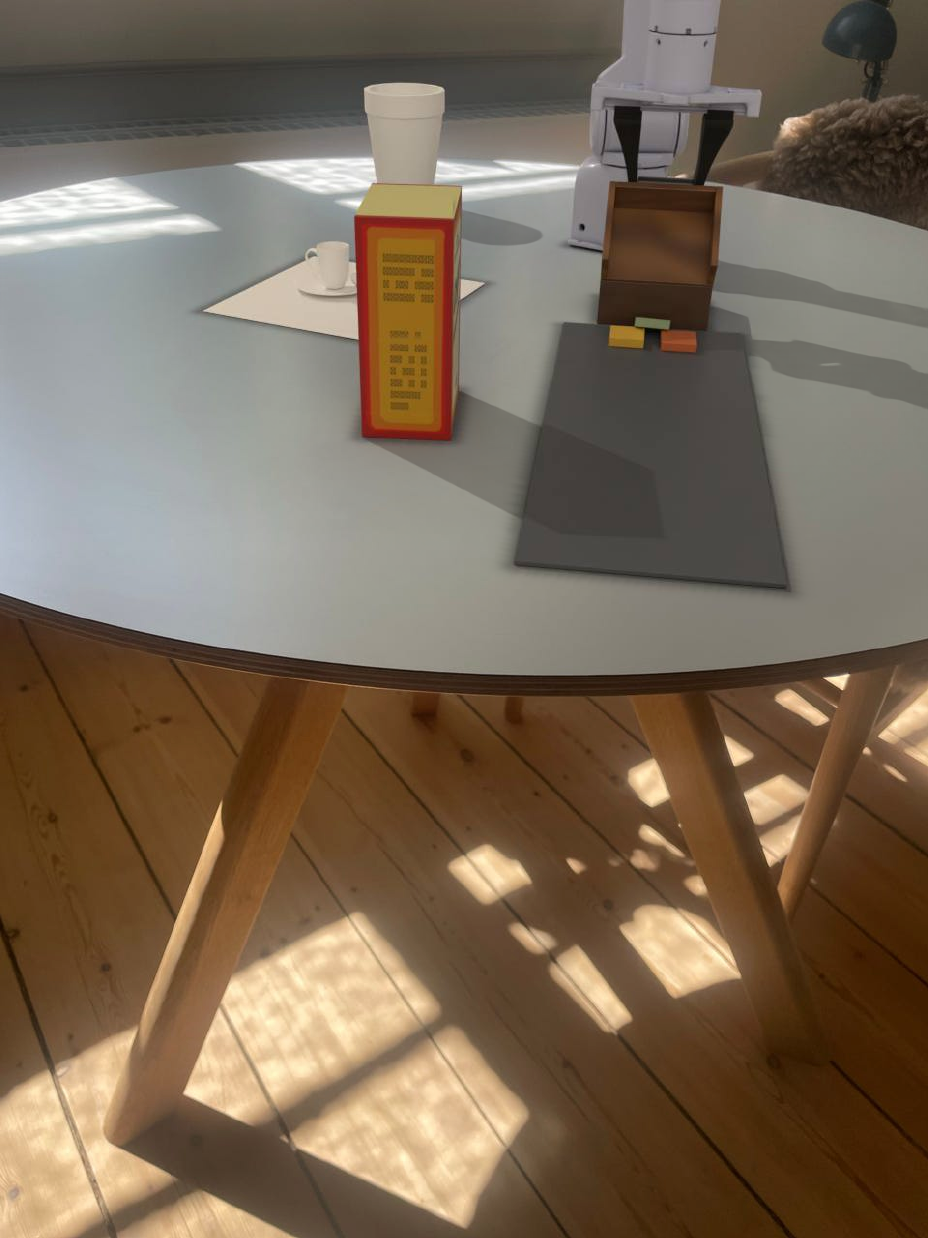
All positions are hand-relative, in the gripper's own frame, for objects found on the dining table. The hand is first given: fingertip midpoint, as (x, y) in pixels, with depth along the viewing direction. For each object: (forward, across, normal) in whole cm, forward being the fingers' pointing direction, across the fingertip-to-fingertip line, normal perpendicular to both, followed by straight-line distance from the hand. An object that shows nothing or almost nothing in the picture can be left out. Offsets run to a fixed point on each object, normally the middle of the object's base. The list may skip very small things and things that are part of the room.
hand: (663, 198), depth 102 cm
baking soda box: (+10, -18, -29) cm, 36 cm away
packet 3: (+9, 0, -9) cm, 13 cm away
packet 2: (+9, +2, -12) cm, 15 cm away
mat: (+10, 0, -29) cm, 30 cm away
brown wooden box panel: (+10, 0, -2) cm, 10 cm away
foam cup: (+10, -30, +33) cm, 46 cm away
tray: (+3, 0, -2) cm, 3 cm away
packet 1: (+9, -2, -11) cm, 14 cm away
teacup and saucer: (+10, -29, -3) cm, 31 cm away
